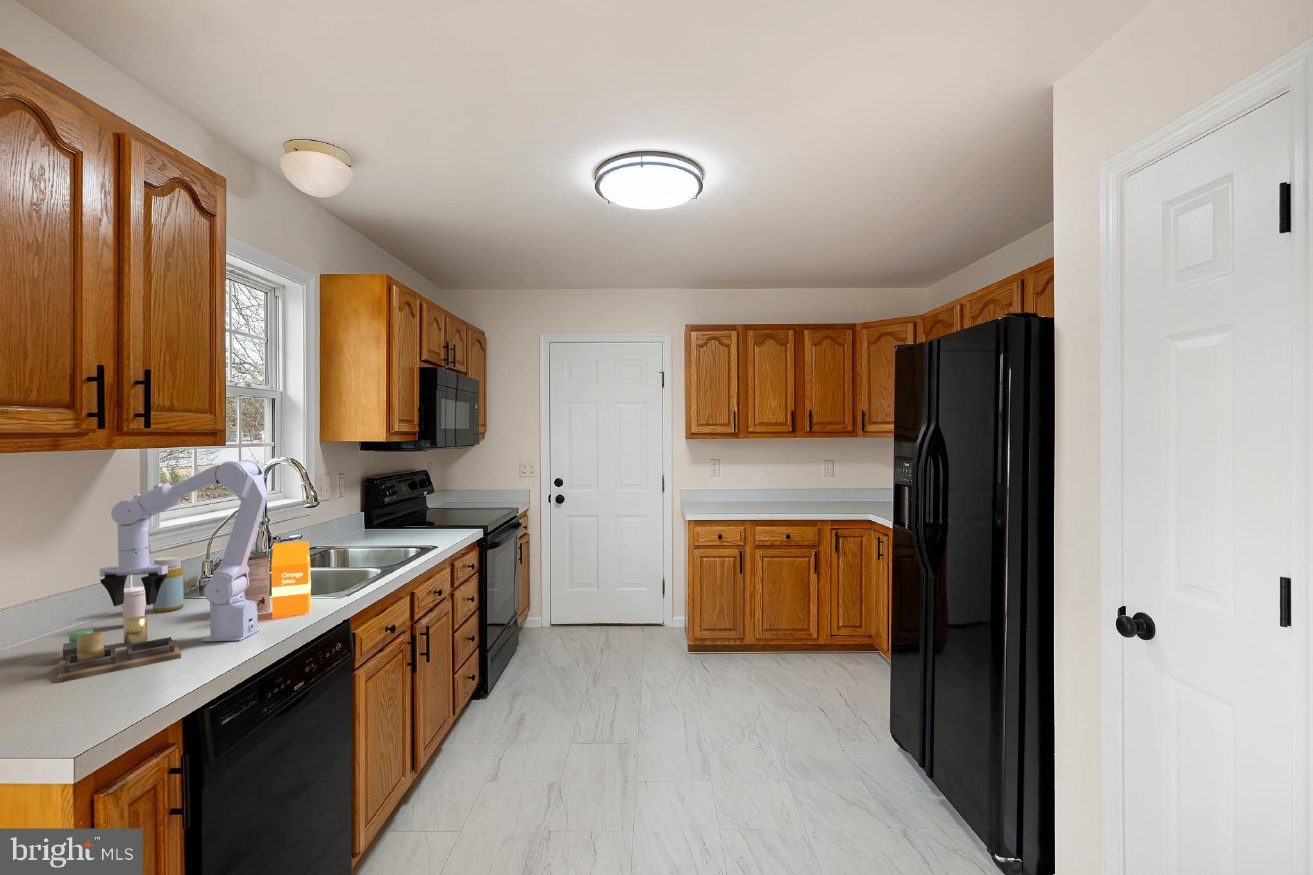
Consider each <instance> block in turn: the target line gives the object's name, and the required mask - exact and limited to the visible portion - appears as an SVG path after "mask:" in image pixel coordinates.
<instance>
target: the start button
mask: <svg viewBox="0 0 1313 875" xmlns="http://www.w3.org/2000/svg"><path fill="white" fill-rule="evenodd" d="M89 633H94V629H93V628H84V629H77V630H73V631H70V632H69V633H68V640H69V641H68V643H70V642H77V637H78V636H81V635H84V634H89Z"/></svg>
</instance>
